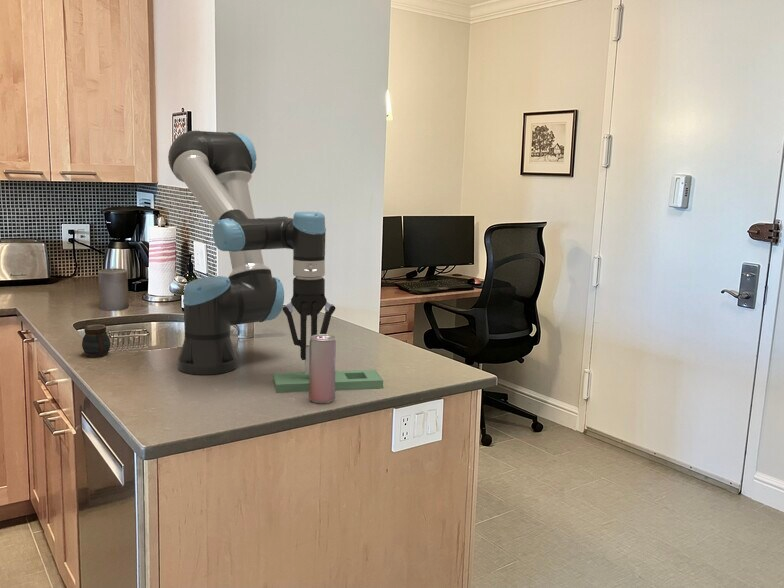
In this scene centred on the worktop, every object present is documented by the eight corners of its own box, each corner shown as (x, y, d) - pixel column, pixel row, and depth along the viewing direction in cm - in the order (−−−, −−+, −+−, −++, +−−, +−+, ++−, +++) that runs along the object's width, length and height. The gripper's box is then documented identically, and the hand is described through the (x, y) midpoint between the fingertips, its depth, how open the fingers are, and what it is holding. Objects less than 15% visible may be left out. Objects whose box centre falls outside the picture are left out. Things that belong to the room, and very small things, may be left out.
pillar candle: (118, 304, 258) (116, 263, 255) (134, 307, 252) (132, 266, 249) (94, 308, 250) (91, 266, 247) (110, 312, 245) (107, 270, 242)
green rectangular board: (276, 392, 166) (276, 384, 166) (273, 381, 175) (273, 373, 174) (382, 388, 172) (383, 380, 172) (375, 377, 181) (375, 369, 180)
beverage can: (309, 395, 165) (310, 333, 162) (334, 395, 165) (335, 334, 163) (308, 404, 159) (309, 340, 156) (334, 404, 159) (336, 340, 157)
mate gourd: (115, 355, 192) (114, 320, 190) (88, 360, 187) (86, 324, 185) (104, 349, 197) (102, 315, 195) (76, 355, 192) (74, 319, 190)
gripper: (282, 279, 162) (282, 377, 166) (338, 279, 165) (337, 375, 169) (280, 274, 169) (280, 369, 173) (333, 274, 172) (332, 367, 176)
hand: (308, 372), depth 171 cm, fingers closed
